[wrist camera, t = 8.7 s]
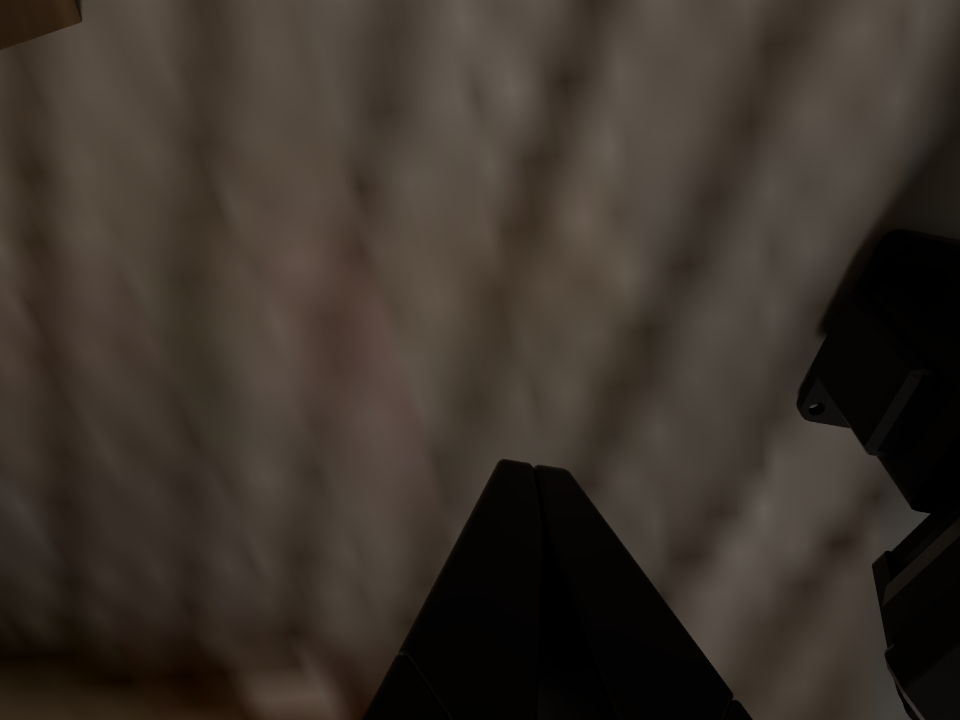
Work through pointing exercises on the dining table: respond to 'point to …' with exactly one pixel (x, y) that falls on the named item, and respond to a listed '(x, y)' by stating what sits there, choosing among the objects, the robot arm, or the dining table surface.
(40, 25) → the walnut block
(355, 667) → the dining table surface
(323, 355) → the dining table surface
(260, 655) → the dining table surface
